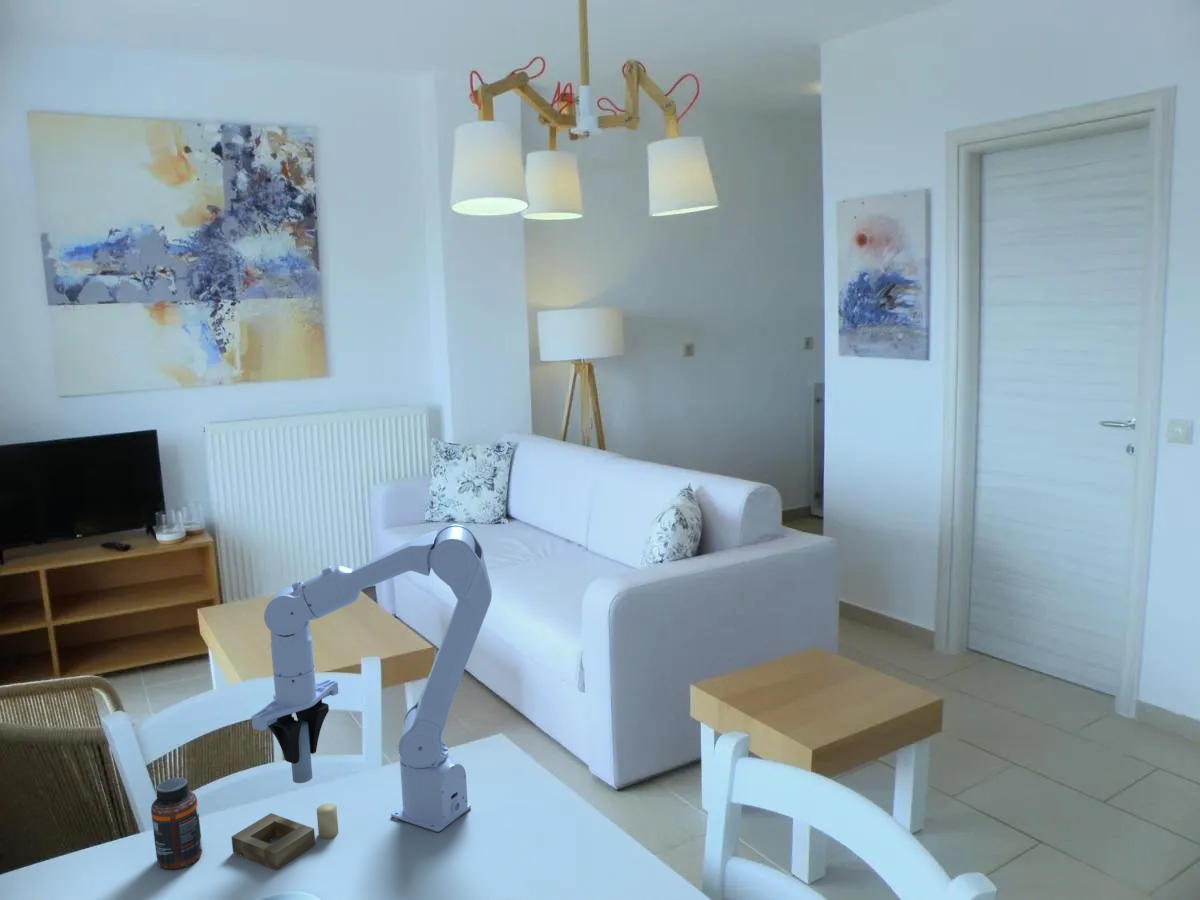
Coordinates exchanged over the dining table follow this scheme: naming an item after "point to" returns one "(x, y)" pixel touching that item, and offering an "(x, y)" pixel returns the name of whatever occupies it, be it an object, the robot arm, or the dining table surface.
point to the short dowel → (327, 821)
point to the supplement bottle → (176, 824)
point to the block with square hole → (280, 852)
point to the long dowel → (303, 757)
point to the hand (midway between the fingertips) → (301, 756)
